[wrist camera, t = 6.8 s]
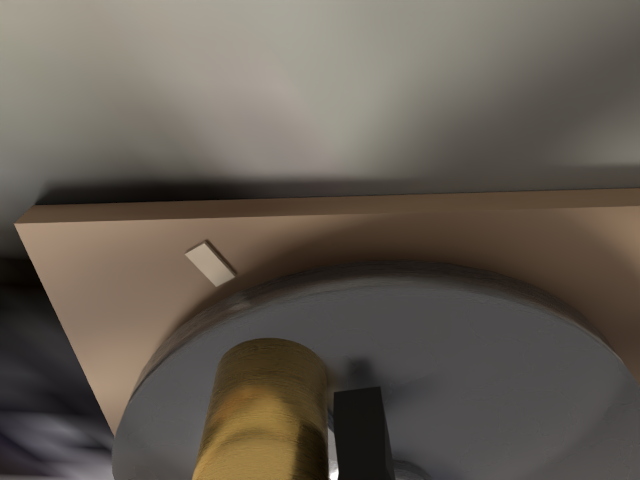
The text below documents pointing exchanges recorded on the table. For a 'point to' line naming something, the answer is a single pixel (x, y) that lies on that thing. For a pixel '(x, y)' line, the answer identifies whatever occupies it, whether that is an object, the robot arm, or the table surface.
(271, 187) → the table surface
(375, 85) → the table surface
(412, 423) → the handwheel
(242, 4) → the table surface
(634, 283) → the base plate
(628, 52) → the table surface
